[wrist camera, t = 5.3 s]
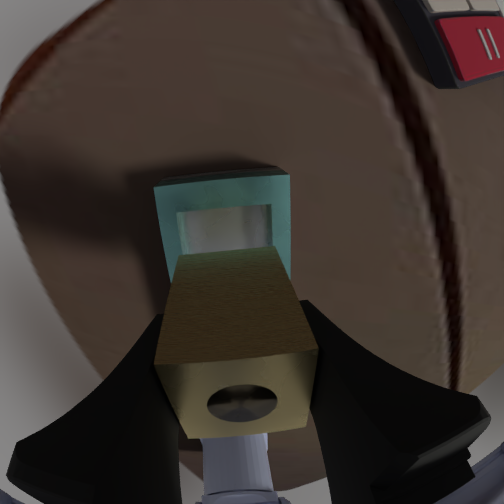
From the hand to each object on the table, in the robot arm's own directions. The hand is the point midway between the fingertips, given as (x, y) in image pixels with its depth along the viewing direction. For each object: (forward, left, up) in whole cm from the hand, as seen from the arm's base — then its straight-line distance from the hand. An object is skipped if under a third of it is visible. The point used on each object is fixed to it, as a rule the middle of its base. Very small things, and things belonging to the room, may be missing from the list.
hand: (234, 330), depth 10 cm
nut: (0, 0, -3) cm, 3 cm away
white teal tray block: (-5, 0, -9) cm, 11 cm away
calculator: (+18, -20, -10) cm, 29 cm away
